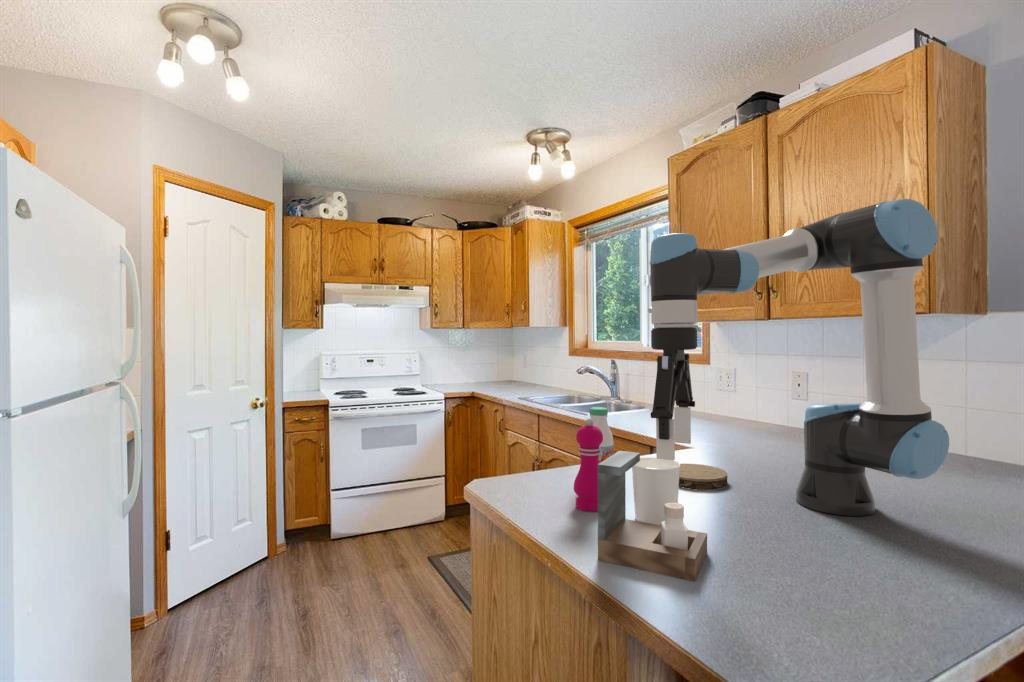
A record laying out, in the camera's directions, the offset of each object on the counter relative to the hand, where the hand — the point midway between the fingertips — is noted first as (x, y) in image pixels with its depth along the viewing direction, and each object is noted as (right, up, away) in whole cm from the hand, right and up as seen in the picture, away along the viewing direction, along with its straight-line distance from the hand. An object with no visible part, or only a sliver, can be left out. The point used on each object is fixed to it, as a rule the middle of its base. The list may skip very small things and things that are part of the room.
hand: (674, 450), depth 88 cm
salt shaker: (0, -19, 0) cm, 19 cm away
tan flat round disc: (+21, -19, +48) cm, 56 cm away
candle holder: (+2, -19, +20) cm, 27 cm away
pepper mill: (-10, -19, +28) cm, 35 cm away
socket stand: (-3, -19, +2) cm, 19 cm away
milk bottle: (-5, -19, +45) cm, 49 cm away
